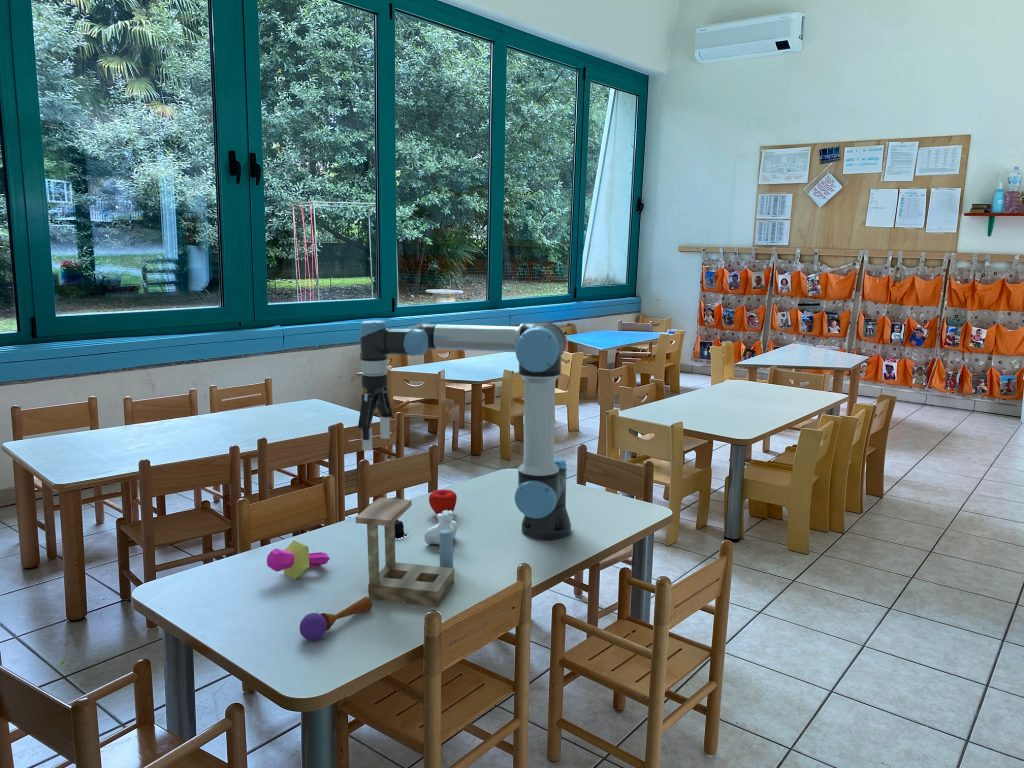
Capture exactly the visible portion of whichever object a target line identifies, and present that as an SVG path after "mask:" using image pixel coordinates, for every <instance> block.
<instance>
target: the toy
mask: <svg viewBox="0 0 1024 768" xmlns="http://www.w3.org/2000/svg"><path fill="white" fill-rule="evenodd" d="M330 559H331V557H330V555H328V554H327V553H326V552H323V551H322V552H321V551H319V552H310V553H309V546H308V545H306V544H303V543H301V542H300V541H297V540H292V542H291V543H290V544H289V545H288V546H287V547H286V548H285V549H281V548H277V547H276V548H274V549H273V550H271V551H270V552H269V553H268V555H267V556H266V565H267V567H268V568H269V569H271V570H273V571H275V572H277V573H278V572H281V571H283V574H284V575H286V576H287V575H288V576H287V577H289V578H291V577H292V578H291V579H293V580H297V578H298V579H300V577H302V575H303V574H304V573H305V572H306V571H308V569H309V568H310V567H319V566H322V565H326V564H328V562H329V560H330ZM316 565H317V566H316Z"/></svg>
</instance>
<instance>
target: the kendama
mask: <svg viewBox="0 0 1024 768" xmlns="http://www.w3.org/2000/svg"><path fill="white" fill-rule="evenodd" d="M370 609H371V610H372V609H373V602H372V600H371V599H370V598H369V596H364V597H363V598H361V599H359V600H357V601H356V602H354V603H352V604H350V605H349V606H348V607H346V608H344V609H341V610H340V611H339V612H337V613H336V614H333V613H327V612H321V613H318V612H311V613H308V614H306V615H304V617H303V618H302V619H301V620H300V622H299V623H300V624H299V633H300V635H301V637H303V639H305V640H307V641H312V642H313V640H315V641H318V640H321V638H323V636H324V635H326V633H327V632H329V631H330V630H331V629H332V626H333V625H334V624H335V623H336V621H337V620H339V619H343V618H347V617H350V616H353V615H357V614H361V613H364V612H368V611H370ZM367 610H368V611H367Z"/></svg>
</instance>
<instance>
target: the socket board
mask: <svg viewBox="0 0 1024 768" xmlns="http://www.w3.org/2000/svg"><path fill="white" fill-rule="evenodd" d="M379 578H380V581H379V582H378V583H377V584H370V583H369V582H368V584H367V588H368V589H367V591H368V597H369V598H370V599H377V600H376V601H380V600H386V601H385V602H389V601H395V602H394V603H398V602H405V603H404V604H407V603H413V604H412V605H416V604H420V605H419V606H425V605H426V607H435V608H438V607H439V605H440V604H441V602H442V601H443V600H444V599H445V597H446V596H447V594H448V592H449V591H450V589H451V588H452V586H453V585H454V583H455V567H452V568H448V567H440V566H438V565H437V566H436V565H428V564H427V565H426V564H419V563H418V564H416V563H409V562H408V563H407V562H397V561H395V564H394V565H393V566H386V564H385V565H384V567H383V568H382V569H381V570H379ZM427 605H428V606H427Z"/></svg>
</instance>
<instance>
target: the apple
mask: <svg viewBox="0 0 1024 768" xmlns="http://www.w3.org/2000/svg"><path fill="white" fill-rule="evenodd" d="M457 500H458V497H457V493H456V492H455V491H453V490H451V489H436V490H433V491H431V492H430V494H429V496H428V502H429V506H430V508H431V509H432V510H433V512H434V513H435V514H436V515H437V514H439V513H440V514H441V513H442V511H445V510H447V511H450V510H452V511H453V512H454V511H455V509H456V508H455V507H456V505H457Z"/></svg>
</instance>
